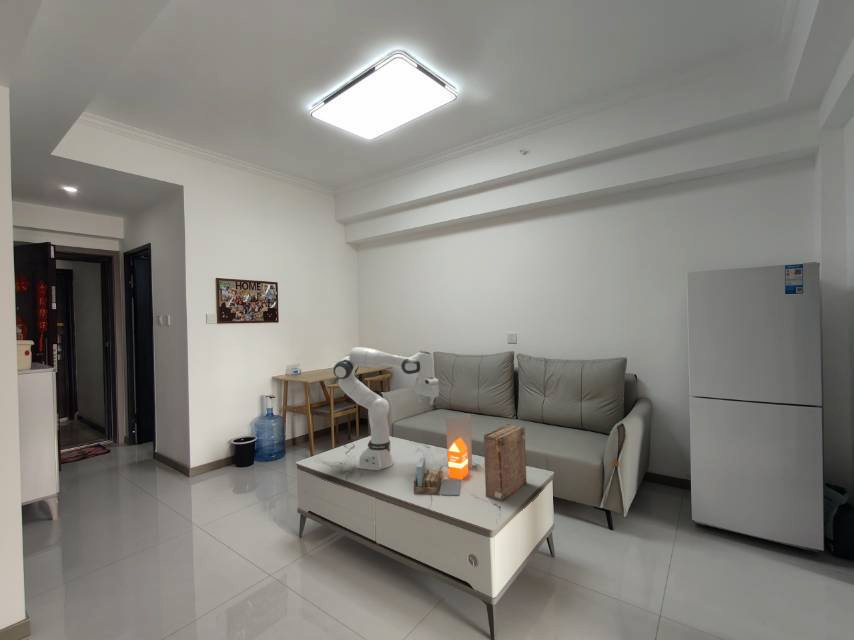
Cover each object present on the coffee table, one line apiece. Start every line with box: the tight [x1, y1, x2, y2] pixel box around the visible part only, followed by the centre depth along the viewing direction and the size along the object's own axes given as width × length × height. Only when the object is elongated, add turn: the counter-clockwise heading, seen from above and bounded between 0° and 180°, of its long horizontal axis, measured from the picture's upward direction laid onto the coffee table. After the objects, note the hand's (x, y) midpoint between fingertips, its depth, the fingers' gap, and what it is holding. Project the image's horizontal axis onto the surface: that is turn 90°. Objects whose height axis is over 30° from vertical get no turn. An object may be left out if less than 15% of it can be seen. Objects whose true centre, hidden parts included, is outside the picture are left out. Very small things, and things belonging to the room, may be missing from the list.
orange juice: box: [447, 438, 469, 480], centre depth 218 cm, size 8×9×20 cm
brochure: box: [445, 413, 473, 469], centre depth 230 cm, size 14×6×30 cm, turn 84°
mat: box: [438, 478, 462, 497], centre depth 202 cm, size 10×18×1 cm, turn 171°
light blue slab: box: [416, 457, 427, 487], centre depth 205 cm, size 2×12×13 cm, turn 171°
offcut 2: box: [431, 473, 438, 488], centre depth 204 cm, size 2×9×6 cm, turn 171°
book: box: [483, 423, 527, 502], centre depth 198 cm, size 25×9×30 cm, turn 139°
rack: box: [413, 469, 442, 495], centre depth 204 cm, size 12×16×6 cm
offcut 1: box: [426, 471, 434, 487], centre depth 204 cm, size 2×10×6 cm, turn 171°
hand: (426, 403), depth 227 cm, fingers open, 8 cm apart
